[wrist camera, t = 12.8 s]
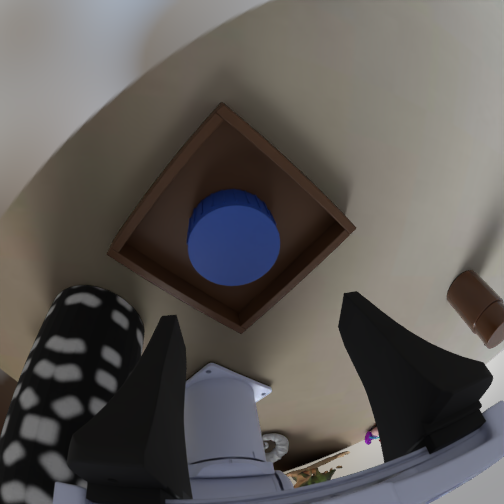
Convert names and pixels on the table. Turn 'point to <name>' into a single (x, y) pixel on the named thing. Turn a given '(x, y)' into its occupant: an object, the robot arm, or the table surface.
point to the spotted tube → (65, 389)
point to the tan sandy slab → (314, 473)
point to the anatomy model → (371, 435)
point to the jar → (478, 307)
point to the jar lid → (232, 238)
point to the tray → (223, 178)
